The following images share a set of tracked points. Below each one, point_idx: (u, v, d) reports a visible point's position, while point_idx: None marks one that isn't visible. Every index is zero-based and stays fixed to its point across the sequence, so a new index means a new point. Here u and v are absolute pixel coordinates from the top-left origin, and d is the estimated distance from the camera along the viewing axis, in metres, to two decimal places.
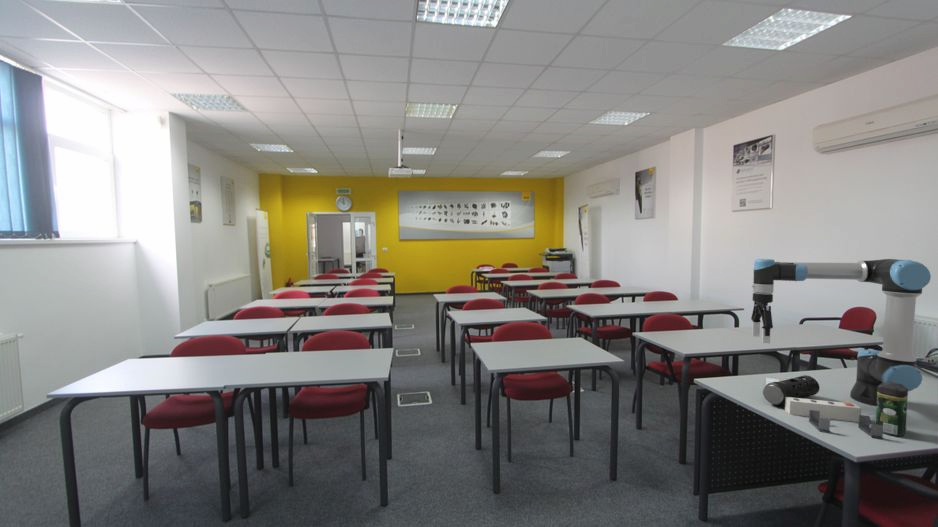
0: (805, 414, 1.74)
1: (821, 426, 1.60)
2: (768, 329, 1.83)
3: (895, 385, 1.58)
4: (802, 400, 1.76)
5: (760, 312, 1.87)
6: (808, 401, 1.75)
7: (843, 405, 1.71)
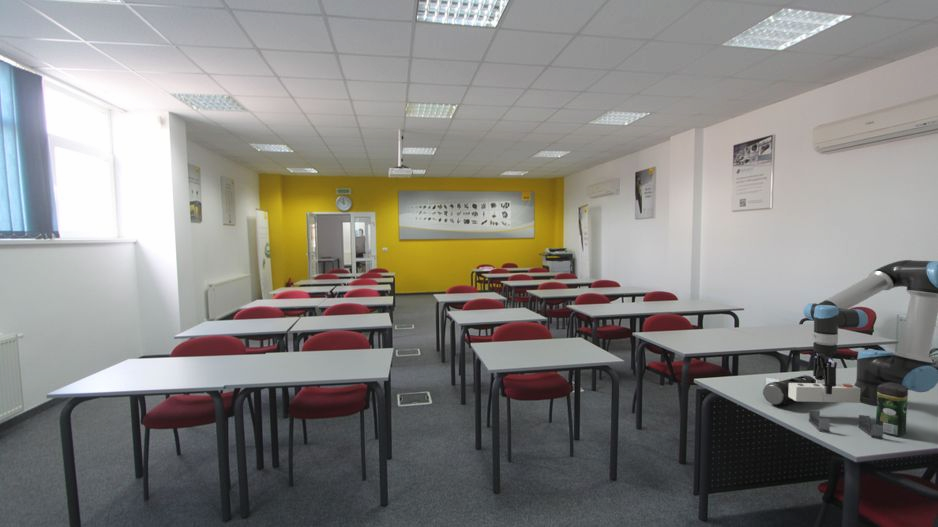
0: (810, 399, 1.72)
1: (821, 426, 1.60)
2: (830, 387, 1.69)
3: (895, 385, 1.58)
4: (806, 385, 1.74)
5: (822, 366, 1.71)
6: (812, 385, 1.73)
7: (843, 386, 1.72)
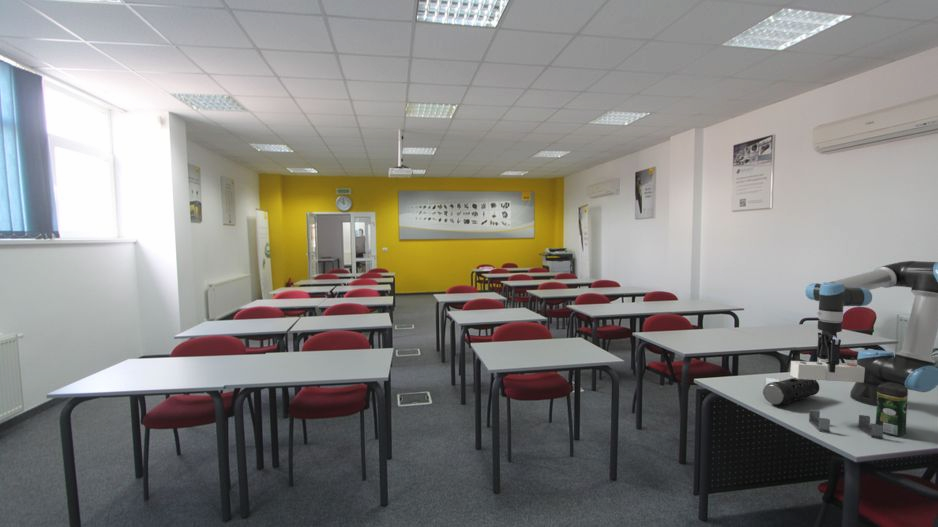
0: (812, 377, 1.69)
1: (821, 426, 1.60)
2: (833, 365, 1.66)
3: (895, 385, 1.58)
4: (809, 363, 1.71)
5: (826, 344, 1.68)
6: (814, 364, 1.71)
7: (847, 366, 1.69)
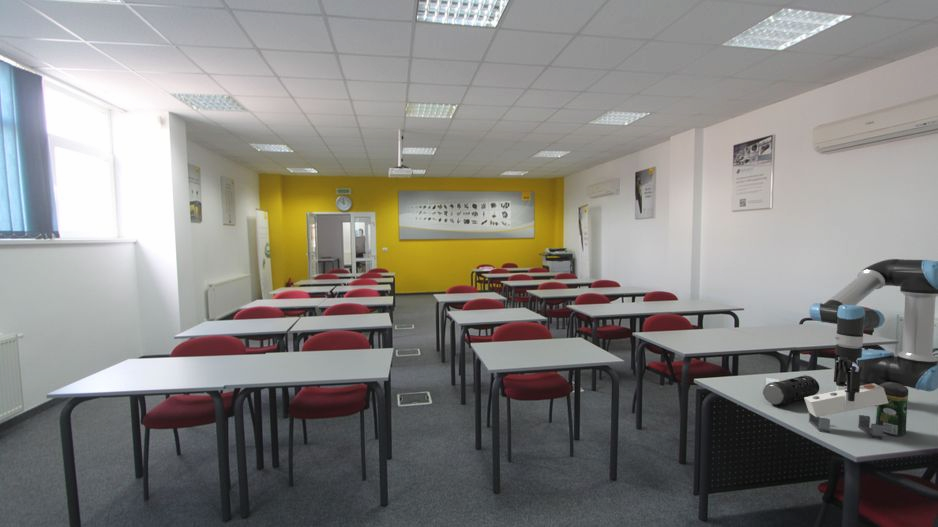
0: (831, 411, 1.60)
1: (821, 426, 1.60)
2: (853, 393, 1.56)
3: (895, 385, 1.58)
4: (822, 396, 1.62)
5: (845, 371, 1.58)
6: (828, 396, 1.61)
7: (864, 389, 1.58)
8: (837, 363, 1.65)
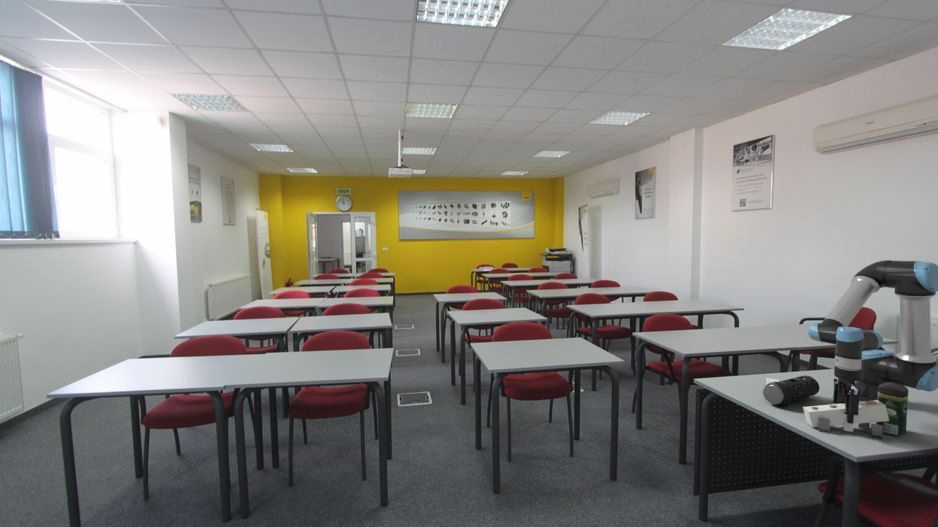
0: None
1: (821, 426, 1.60)
2: (852, 416, 1.56)
3: (895, 385, 1.58)
4: (821, 408, 1.63)
5: (844, 393, 1.58)
6: (828, 408, 1.62)
7: (865, 405, 1.58)
8: (836, 384, 1.65)
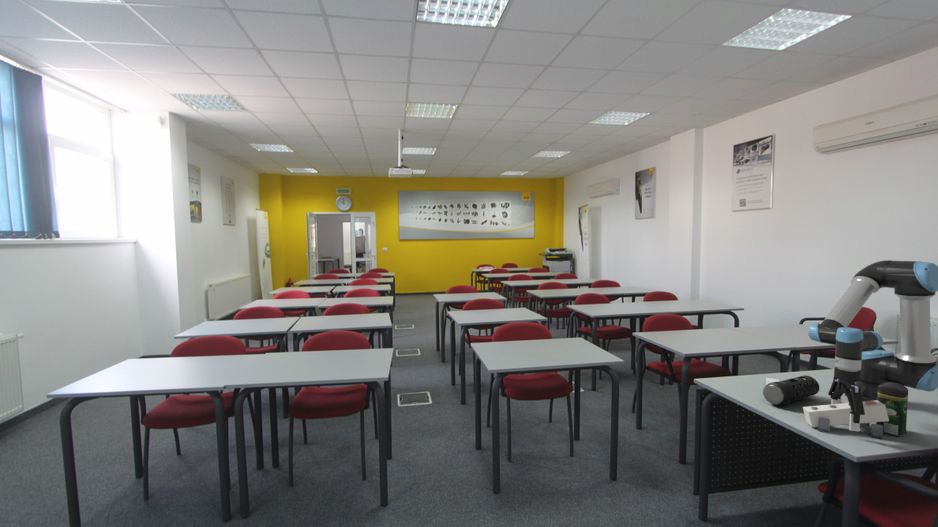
0: None
1: (821, 426, 1.60)
2: (858, 415, 1.53)
3: (895, 385, 1.58)
4: (821, 408, 1.63)
5: (846, 392, 1.57)
6: (827, 408, 1.62)
7: (865, 405, 1.58)
8: (835, 382, 1.66)
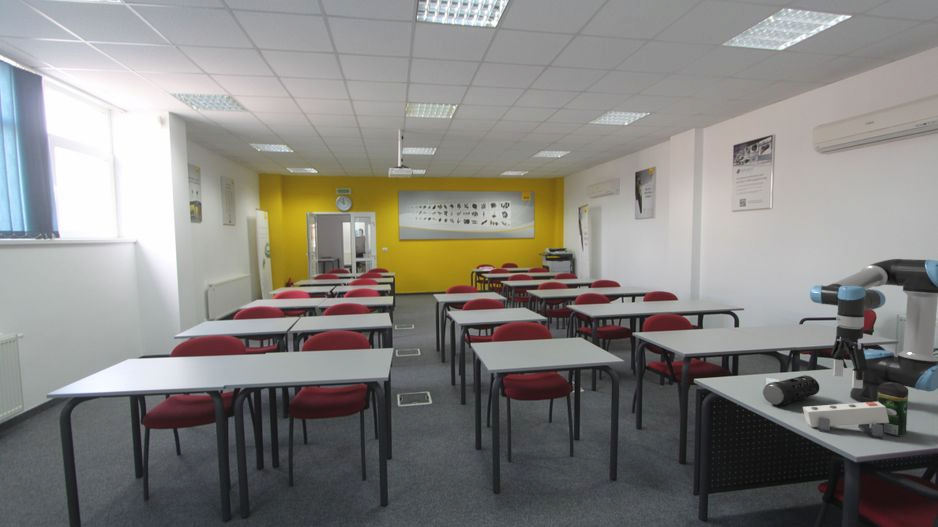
0: None
1: (821, 426, 1.60)
2: (861, 372, 1.52)
3: (896, 385, 1.58)
4: (821, 408, 1.63)
5: (848, 350, 1.56)
6: (827, 408, 1.62)
7: (866, 406, 1.57)
8: (837, 341, 1.65)
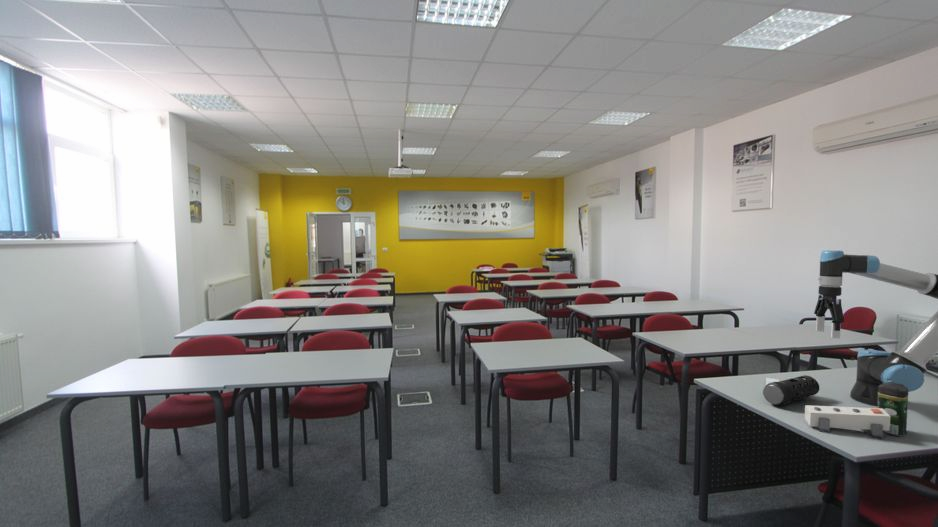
0: None
1: (821, 426, 1.60)
2: (838, 323, 1.74)
3: (896, 385, 1.58)
4: (824, 409, 1.62)
5: (828, 306, 1.79)
6: (831, 410, 1.60)
7: (870, 413, 1.56)
8: (820, 300, 1.88)
